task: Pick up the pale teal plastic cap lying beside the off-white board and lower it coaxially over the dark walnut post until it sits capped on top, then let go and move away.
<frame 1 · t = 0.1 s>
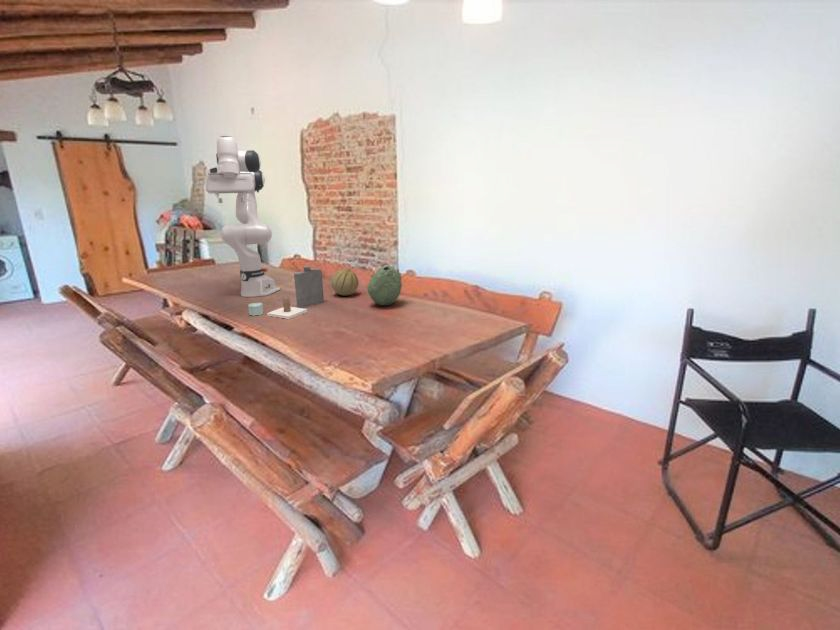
hand: (231, 202, 196), 52 cm above the table, tool tilted 20°, fingers open, 8 cm apart
cantaloupe: (345, 295, 242), on the table
post stand: (287, 314, 209), on the table
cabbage: (385, 305, 223), on the table
cap: (256, 313, 210), on the table
hip flask: (310, 304, 225), on the table
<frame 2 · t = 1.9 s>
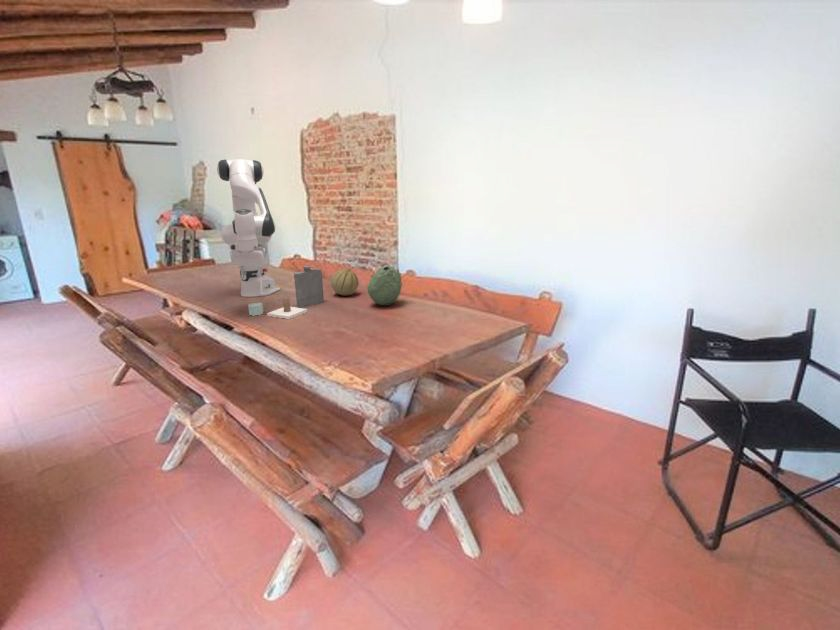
hand: (251, 275, 204), 19 cm above the table, tool pointing down, fingers open, 8 cm apart
nothing on the table moved.
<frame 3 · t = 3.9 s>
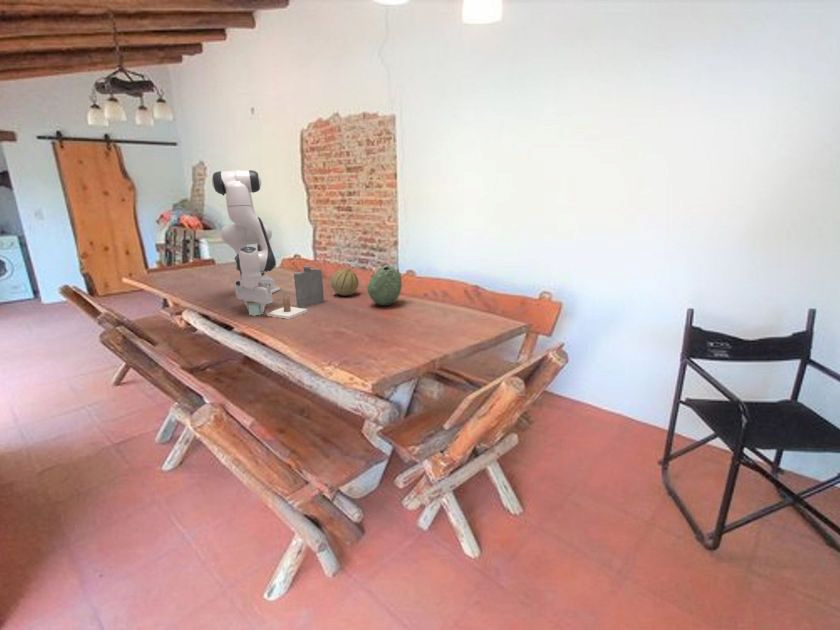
hand: (255, 310, 209), 2 cm above the table, tool pointing down, fingers closed on cap, 6 cm apart
cap: (256, 313, 210), on the table, touching gripper
everything else where it was.
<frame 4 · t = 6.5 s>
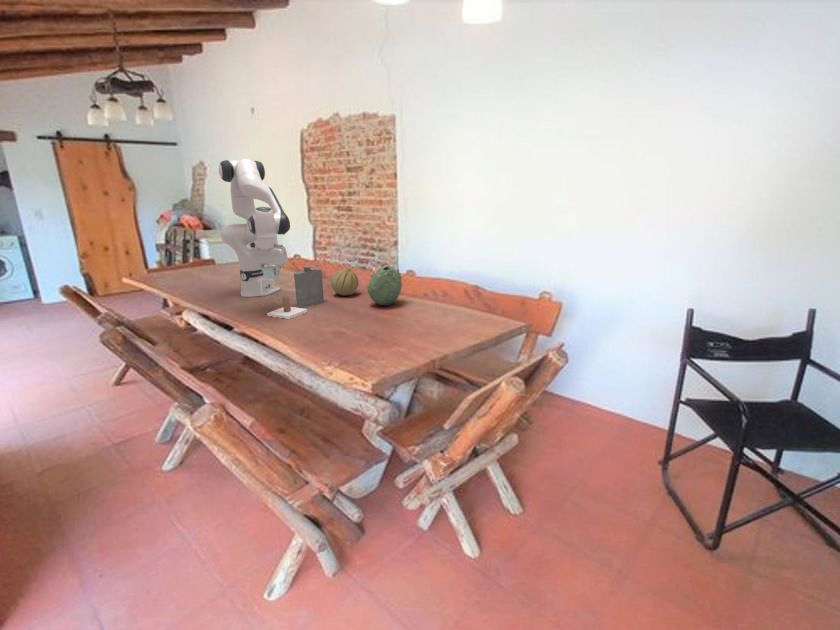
hand: (270, 273, 203), 20 cm above the table, tool pointing down, fingers closed on cap, 6 cm apart
cap: (271, 277, 203), point 18 cm above the table, touching gripper
everything else where it was.
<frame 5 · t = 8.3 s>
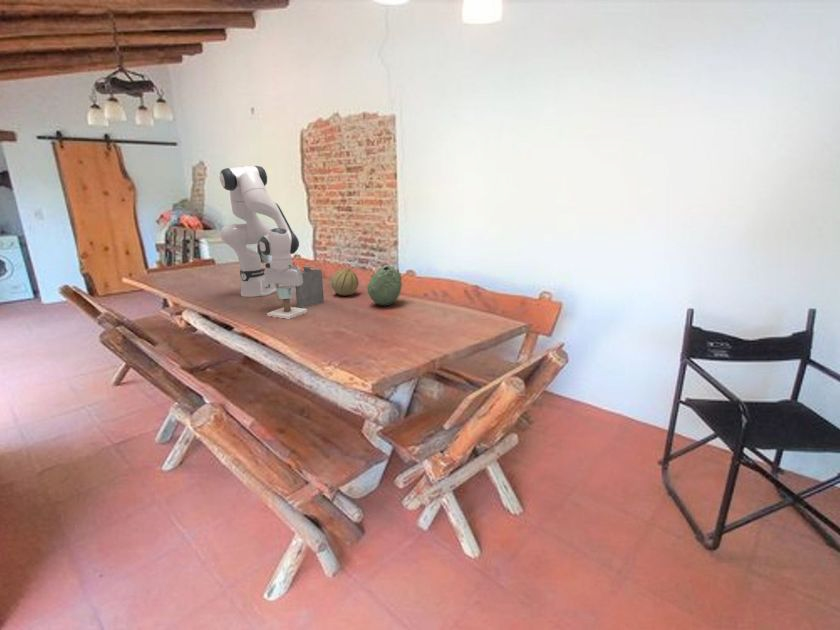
hand: (285, 293, 206), 10 cm above the table, tool pointing down, fingers closed on cap, 6 cm apart
cap: (285, 297, 206), point 8 cm above the table, touching gripper
everything else where it was.
when the fingers open (8 cm above the table, at t = 9.3 s): cap drops 1 cm, resting on post stand.
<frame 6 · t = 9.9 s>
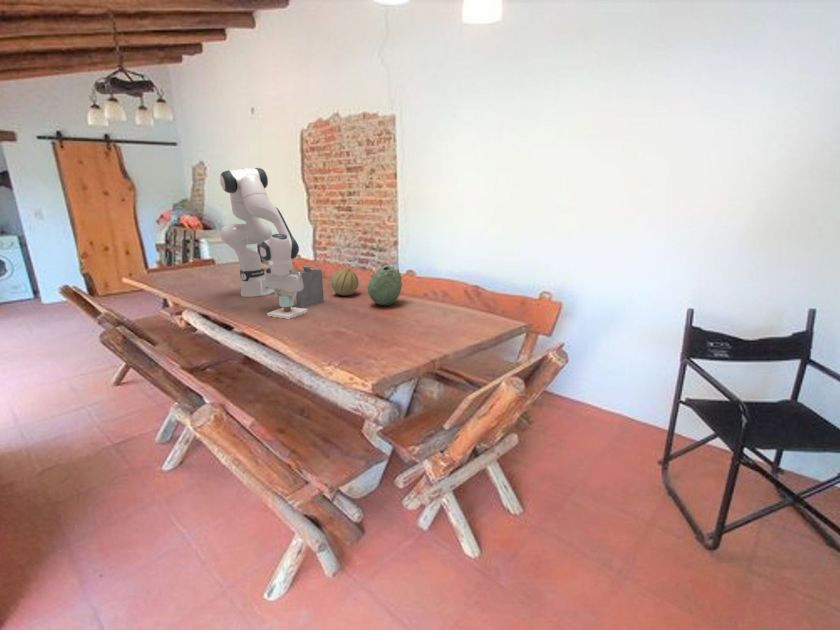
hand: (286, 298, 207), 8 cm above the table, tool pointing down, fingers open, 8 cm apart
cap: (286, 305, 208), point 5 cm above the table, touching post stand
everything else where it was.
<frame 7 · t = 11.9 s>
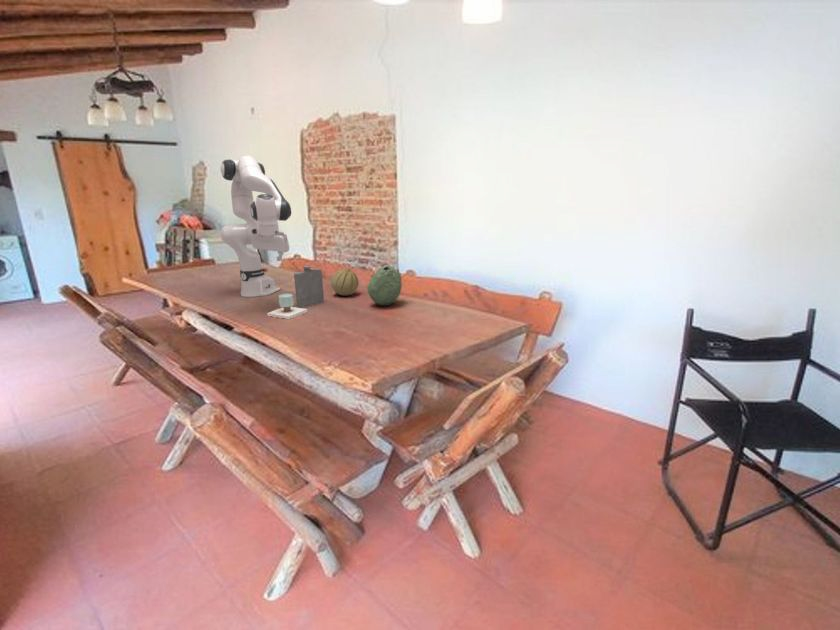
hand: (272, 259, 209), 25 cm above the table, tool pointing down, fingers open, 8 cm apart
nothing on the table moved.
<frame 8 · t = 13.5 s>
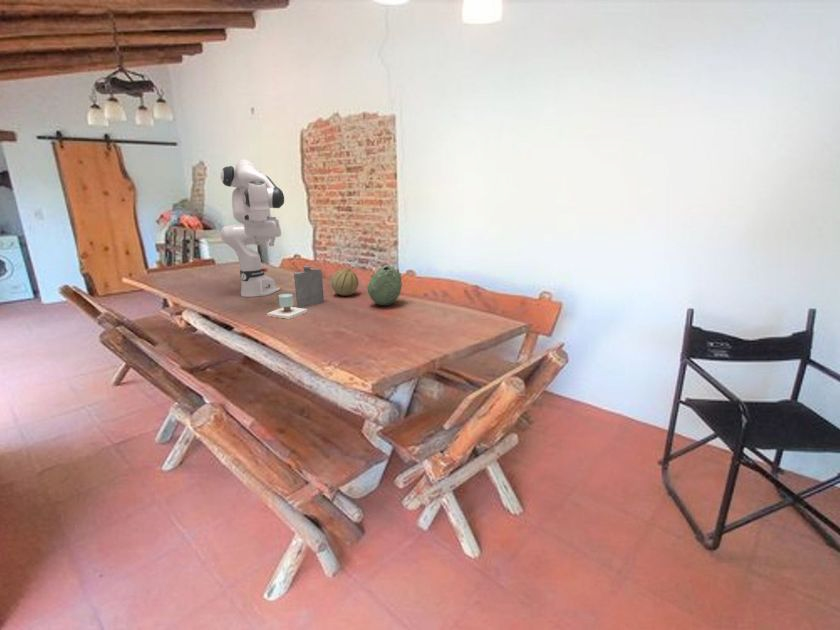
hand: (264, 245, 211), 31 cm above the table, tool pointing down, fingers open, 8 cm apart
nothing on the table moved.
at the end: cap 0.0 cm off-centre on the post stand, point 4.5 cm above the post stand's base; cap tilted 1°; the gripper is holding nothing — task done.
